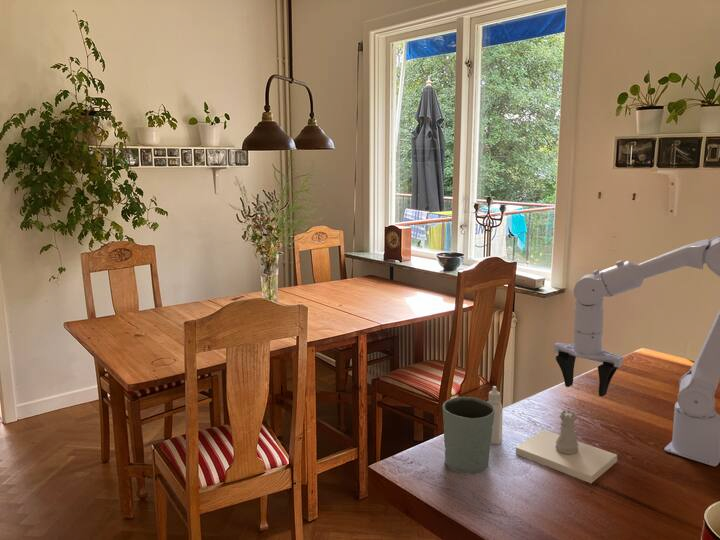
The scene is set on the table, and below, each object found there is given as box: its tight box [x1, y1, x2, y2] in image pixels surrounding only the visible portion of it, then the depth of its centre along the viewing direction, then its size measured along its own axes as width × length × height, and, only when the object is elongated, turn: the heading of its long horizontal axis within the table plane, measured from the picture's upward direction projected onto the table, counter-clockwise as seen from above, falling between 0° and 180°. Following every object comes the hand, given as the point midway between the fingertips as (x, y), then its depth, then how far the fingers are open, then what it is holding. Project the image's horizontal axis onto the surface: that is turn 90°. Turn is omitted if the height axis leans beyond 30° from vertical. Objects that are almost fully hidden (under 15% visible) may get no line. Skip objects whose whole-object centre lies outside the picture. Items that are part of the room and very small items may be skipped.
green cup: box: [442, 396, 495, 474], centre depth 116 cm, size 10×10×12 cm
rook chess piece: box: [555, 410, 579, 455], centre depth 117 cm, size 4×4×8 cm
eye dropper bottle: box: [488, 385, 503, 445], centre depth 125 cm, size 4×6×12 cm
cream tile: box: [515, 429, 618, 484], centre depth 118 cm, size 16×11×2 cm
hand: (585, 390), depth 127 cm, fingers open, 7 cm apart
